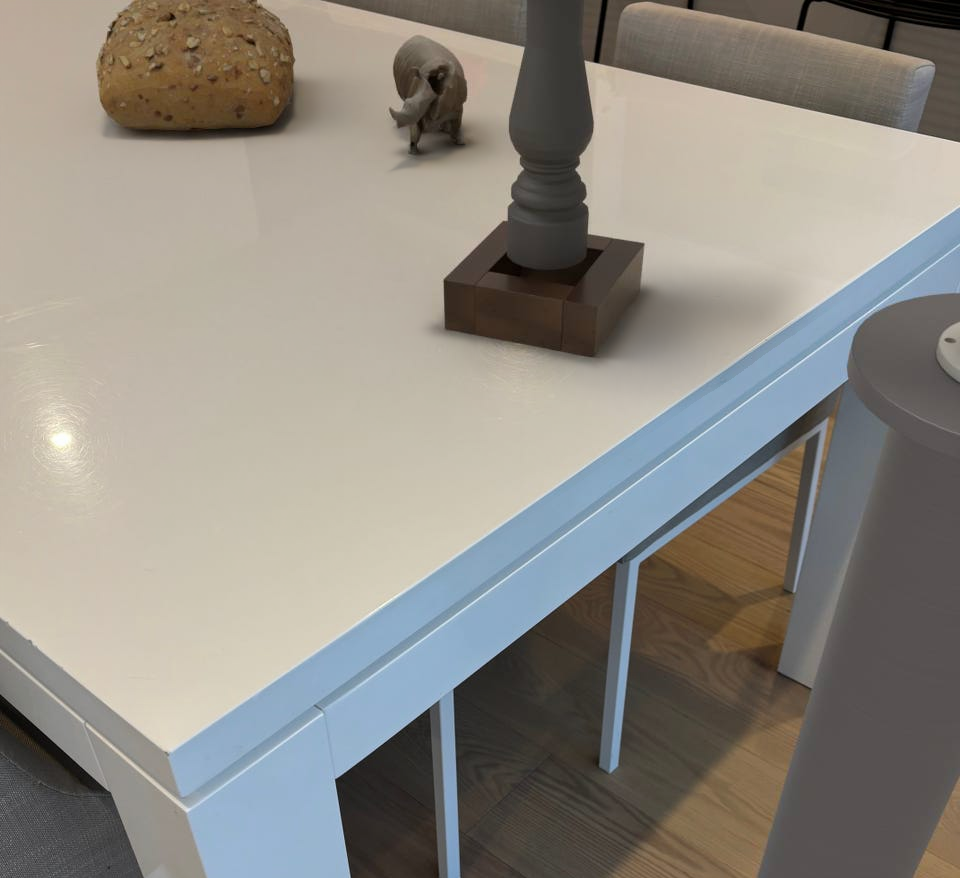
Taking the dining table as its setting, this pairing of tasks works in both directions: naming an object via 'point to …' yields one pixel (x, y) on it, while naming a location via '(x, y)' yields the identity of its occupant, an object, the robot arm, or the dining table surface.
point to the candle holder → (550, 140)
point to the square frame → (544, 294)
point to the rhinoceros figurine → (429, 89)
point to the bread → (195, 65)
